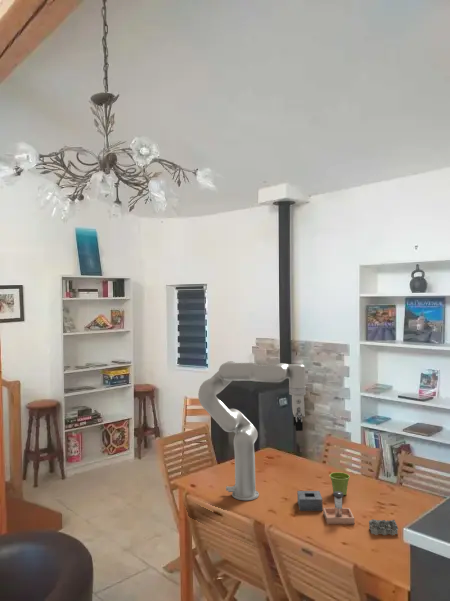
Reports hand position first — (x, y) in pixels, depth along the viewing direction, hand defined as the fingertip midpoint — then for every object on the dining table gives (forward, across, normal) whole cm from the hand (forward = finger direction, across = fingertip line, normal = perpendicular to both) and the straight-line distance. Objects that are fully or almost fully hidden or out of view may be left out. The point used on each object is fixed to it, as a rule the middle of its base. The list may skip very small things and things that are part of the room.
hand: (298, 428), depth 230 cm
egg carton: (+34, -31, -30) cm, 55 cm away
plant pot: (+34, +8, -20) cm, 40 cm away
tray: (+33, -20, -14) cm, 41 cm away
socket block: (+33, -7, -4) cm, 34 cm away
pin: (+33, -20, -15) cm, 41 cm away
